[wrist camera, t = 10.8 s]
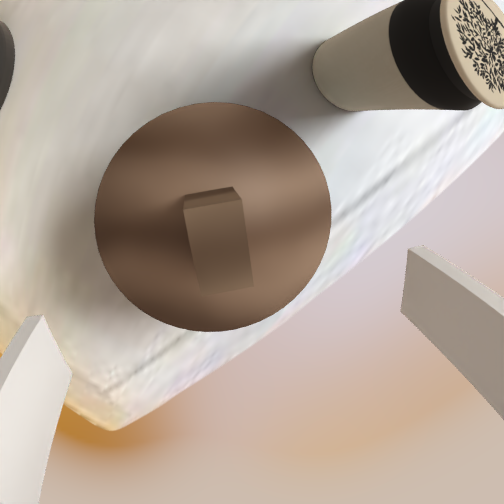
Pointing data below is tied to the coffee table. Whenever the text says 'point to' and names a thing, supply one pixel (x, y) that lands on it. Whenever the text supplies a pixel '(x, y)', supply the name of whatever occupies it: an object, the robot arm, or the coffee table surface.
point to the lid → (212, 217)
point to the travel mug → (417, 58)
